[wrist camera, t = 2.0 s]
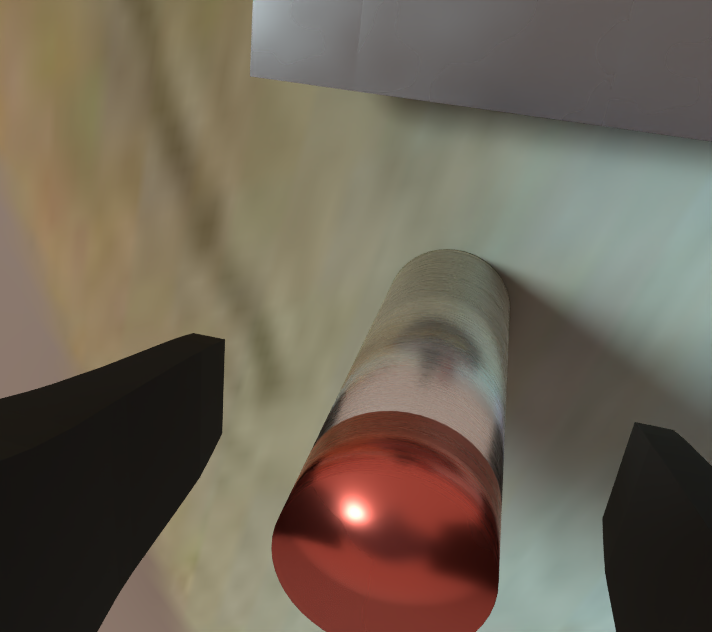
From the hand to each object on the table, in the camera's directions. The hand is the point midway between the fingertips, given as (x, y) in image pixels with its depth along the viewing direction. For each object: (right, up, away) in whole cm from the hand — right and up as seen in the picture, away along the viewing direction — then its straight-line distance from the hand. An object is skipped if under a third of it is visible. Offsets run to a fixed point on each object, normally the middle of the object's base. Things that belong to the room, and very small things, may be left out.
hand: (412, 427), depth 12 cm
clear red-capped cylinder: (+1, +2, +5) cm, 6 cm away
